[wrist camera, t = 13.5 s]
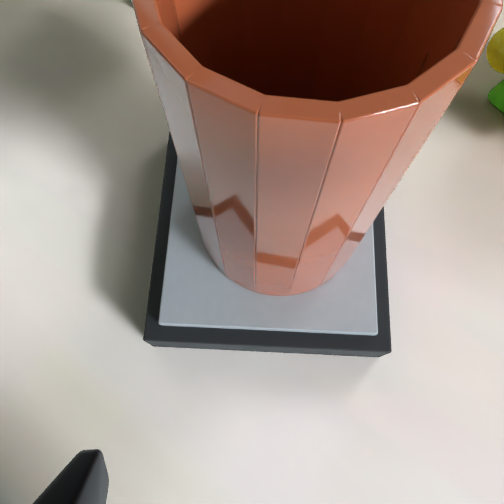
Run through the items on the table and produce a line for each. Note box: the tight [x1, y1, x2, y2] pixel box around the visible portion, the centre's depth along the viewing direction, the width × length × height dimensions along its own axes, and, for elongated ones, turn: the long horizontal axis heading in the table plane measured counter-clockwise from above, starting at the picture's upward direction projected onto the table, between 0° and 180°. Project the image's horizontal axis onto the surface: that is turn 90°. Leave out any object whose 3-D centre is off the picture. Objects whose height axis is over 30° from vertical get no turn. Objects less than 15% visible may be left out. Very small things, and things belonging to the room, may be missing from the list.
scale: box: [143, 132, 391, 357], centre depth 22 cm, size 12×11×2 cm
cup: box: [132, 0, 503, 296], centre depth 15 cm, size 7×7×13 cm
